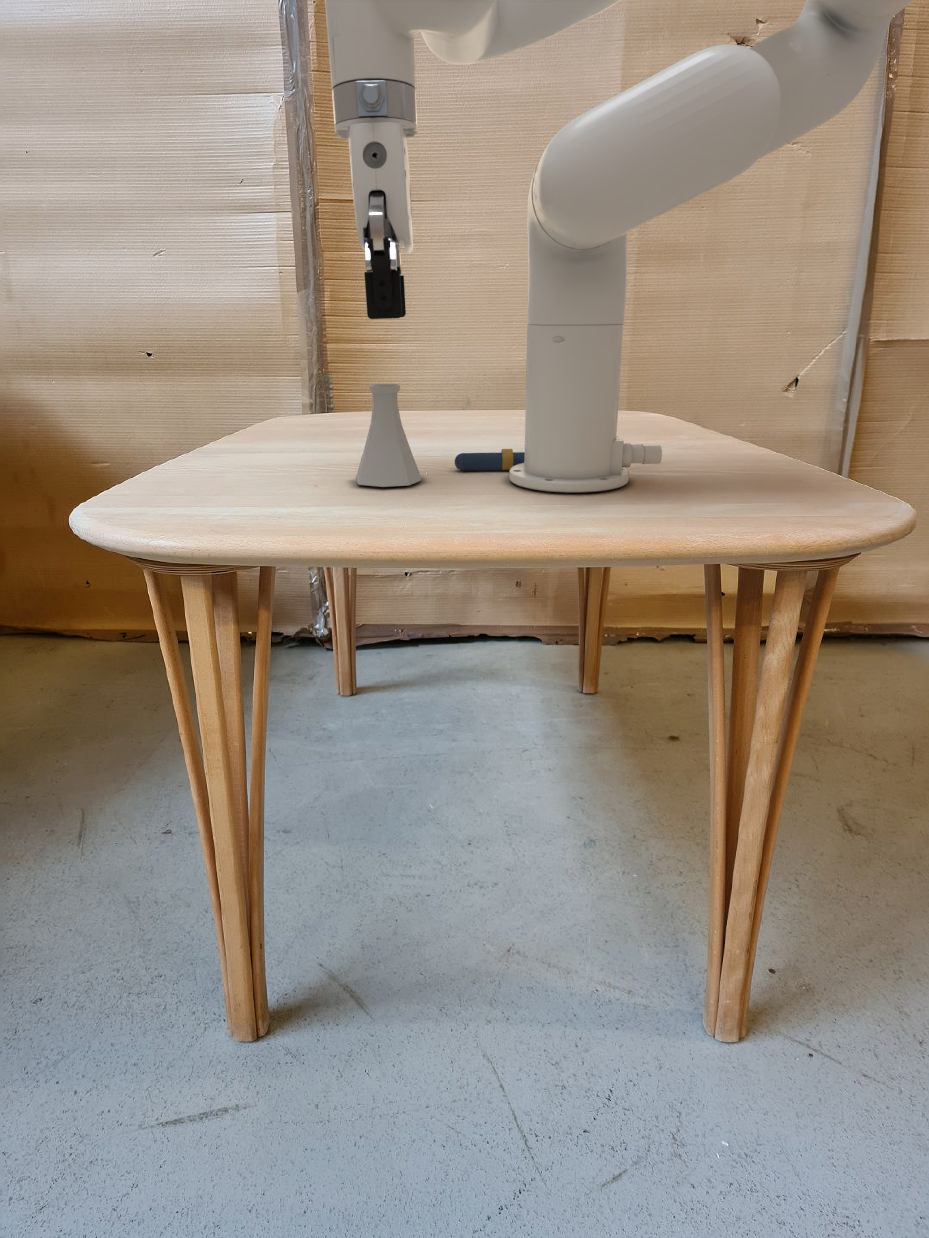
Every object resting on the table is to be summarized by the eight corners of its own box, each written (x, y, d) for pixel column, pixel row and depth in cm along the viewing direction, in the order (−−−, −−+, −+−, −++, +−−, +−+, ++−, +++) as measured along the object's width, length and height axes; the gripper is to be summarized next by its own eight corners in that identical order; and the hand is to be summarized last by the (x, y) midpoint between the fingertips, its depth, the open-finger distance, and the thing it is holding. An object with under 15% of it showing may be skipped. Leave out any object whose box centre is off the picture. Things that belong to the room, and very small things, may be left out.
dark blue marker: (557, 467, 88) (558, 446, 88) (560, 471, 86) (561, 450, 85) (454, 468, 88) (454, 448, 87) (454, 473, 86) (454, 451, 85)
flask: (426, 475, 85) (424, 382, 81) (416, 490, 78) (413, 388, 74) (363, 474, 85) (357, 382, 82) (347, 489, 79) (340, 388, 75)
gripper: (414, 89, 61) (424, 318, 68) (418, 134, 77) (426, 316, 84) (320, 91, 61) (340, 320, 67) (344, 136, 77) (358, 318, 83)
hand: (388, 318), depth 75 cm, fingers open, 9 cm apart
